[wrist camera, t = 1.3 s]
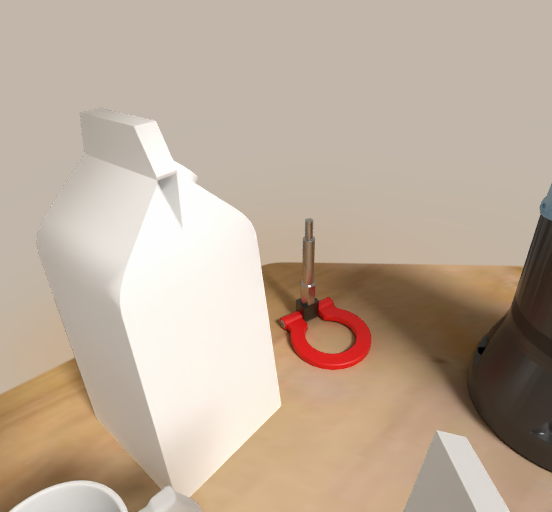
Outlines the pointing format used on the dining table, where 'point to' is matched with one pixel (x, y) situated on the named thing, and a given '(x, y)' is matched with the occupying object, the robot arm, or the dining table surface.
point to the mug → (99, 500)
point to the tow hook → (325, 309)
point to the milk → (159, 303)
